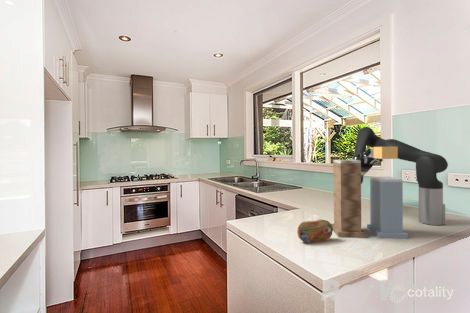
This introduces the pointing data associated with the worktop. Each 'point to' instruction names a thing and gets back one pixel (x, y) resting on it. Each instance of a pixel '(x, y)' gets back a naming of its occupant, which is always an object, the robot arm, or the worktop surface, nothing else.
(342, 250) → the worktop surface
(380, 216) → the grey block stand
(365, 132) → the robot arm
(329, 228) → the tin
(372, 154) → the block
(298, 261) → the worktop surface
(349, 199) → the post
